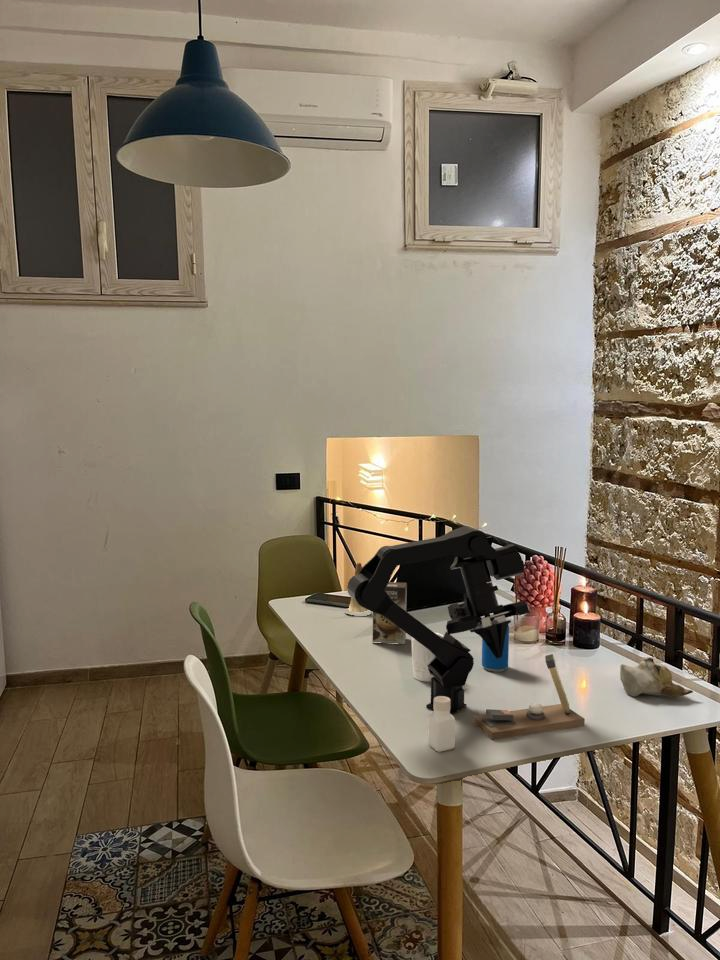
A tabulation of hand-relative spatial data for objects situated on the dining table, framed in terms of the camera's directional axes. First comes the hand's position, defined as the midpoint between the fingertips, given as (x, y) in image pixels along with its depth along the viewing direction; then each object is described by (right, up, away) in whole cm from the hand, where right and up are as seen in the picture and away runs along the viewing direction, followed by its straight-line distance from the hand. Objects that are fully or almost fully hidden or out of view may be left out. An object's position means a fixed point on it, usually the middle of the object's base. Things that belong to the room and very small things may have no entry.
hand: (499, 657), depth 156 cm
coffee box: (-21, -7, +50) cm, 55 cm away
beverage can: (+4, -10, +29) cm, 31 cm away
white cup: (-13, -10, +23) cm, 28 cm away
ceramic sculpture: (+37, -11, +13) cm, 41 cm away
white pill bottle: (-14, -14, -14) cm, 24 cm away
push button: (+7, -10, -4) cm, 13 cm away
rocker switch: (-1, -11, -6) cm, 13 cm away
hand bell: (-30, -5, +77) cm, 83 cm away
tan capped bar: (+14, -10, -1) cm, 17 cm away
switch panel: (+5, -13, -4) cm, 14 cm away
